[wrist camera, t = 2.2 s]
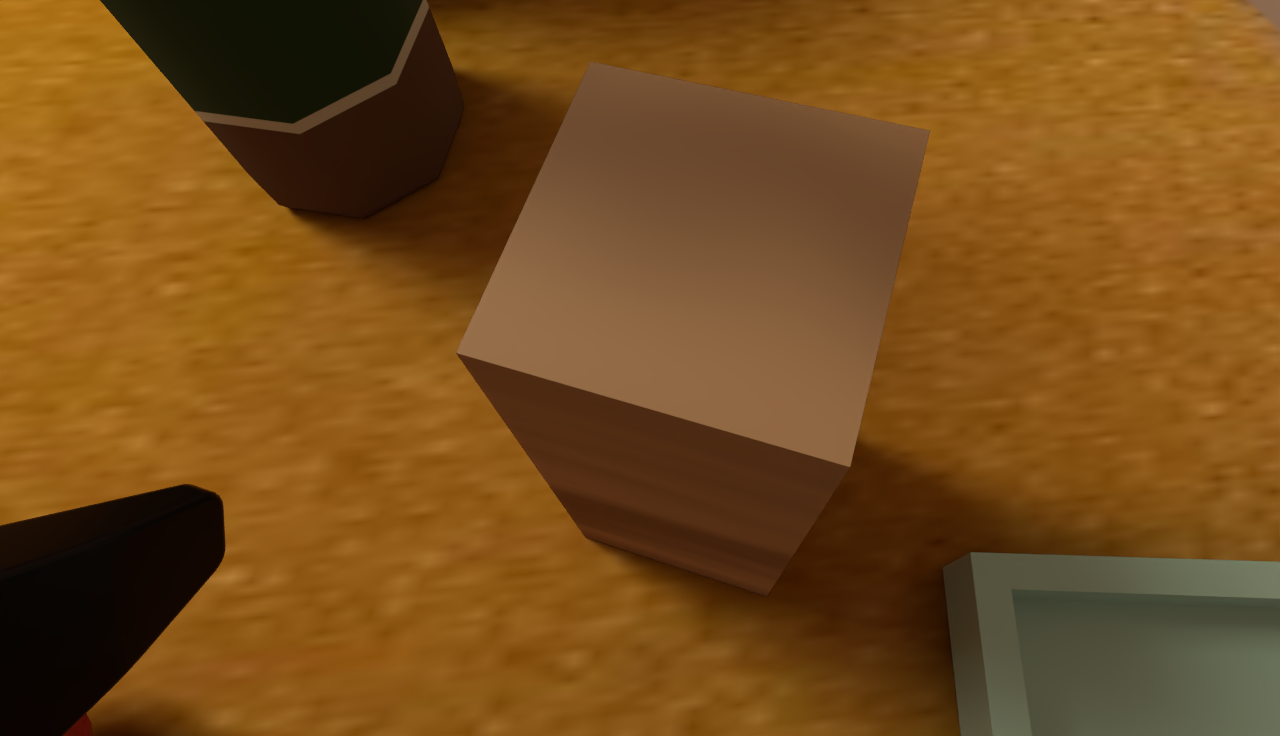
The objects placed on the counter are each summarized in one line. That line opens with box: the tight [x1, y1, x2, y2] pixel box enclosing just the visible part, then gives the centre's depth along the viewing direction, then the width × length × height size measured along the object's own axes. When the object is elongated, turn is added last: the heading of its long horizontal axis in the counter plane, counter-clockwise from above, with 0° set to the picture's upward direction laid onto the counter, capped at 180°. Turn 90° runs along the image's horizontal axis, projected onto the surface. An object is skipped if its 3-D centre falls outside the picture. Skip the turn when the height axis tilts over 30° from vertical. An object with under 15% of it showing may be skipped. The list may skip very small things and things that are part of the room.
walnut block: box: [456, 62, 930, 597], centre depth 16 cm, size 5×5×12 cm
